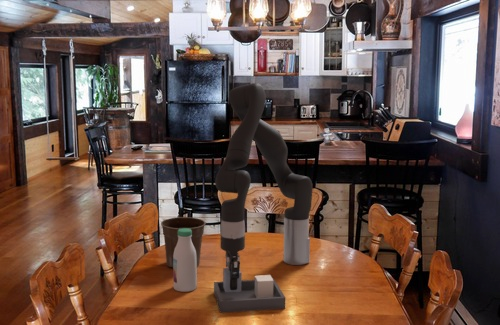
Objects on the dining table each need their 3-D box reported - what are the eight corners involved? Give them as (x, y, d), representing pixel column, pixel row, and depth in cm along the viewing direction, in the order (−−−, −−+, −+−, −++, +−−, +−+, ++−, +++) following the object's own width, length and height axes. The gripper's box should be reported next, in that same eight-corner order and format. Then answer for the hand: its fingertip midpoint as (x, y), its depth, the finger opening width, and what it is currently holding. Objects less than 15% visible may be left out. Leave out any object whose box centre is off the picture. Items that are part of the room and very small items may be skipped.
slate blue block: (238, 285, 182) (238, 267, 182) (241, 291, 178) (241, 273, 177) (223, 286, 182) (223, 268, 181) (225, 292, 177) (225, 273, 176)
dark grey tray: (273, 288, 191) (273, 278, 190) (285, 308, 175) (285, 297, 175) (213, 292, 187) (213, 281, 187) (220, 312, 172) (220, 301, 171)
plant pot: (200, 255, 223) (199, 215, 220) (210, 269, 208) (210, 226, 205) (158, 259, 218) (157, 218, 215) (165, 274, 203) (165, 230, 200)
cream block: (254, 293, 184) (254, 275, 183) (269, 292, 185) (270, 274, 184) (257, 299, 179) (257, 281, 178) (273, 298, 180) (273, 280, 179)
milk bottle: (200, 285, 193) (200, 227, 189) (190, 293, 186) (190, 234, 182) (179, 282, 195) (179, 225, 192) (169, 290, 188) (168, 231, 185)
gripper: (217, 227, 183) (217, 278, 186) (223, 241, 169) (223, 295, 172) (241, 226, 184) (240, 277, 187) (248, 240, 170) (248, 294, 173)
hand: (232, 285), depth 179 cm, fingers closed on slate blue block, 5 cm apart
